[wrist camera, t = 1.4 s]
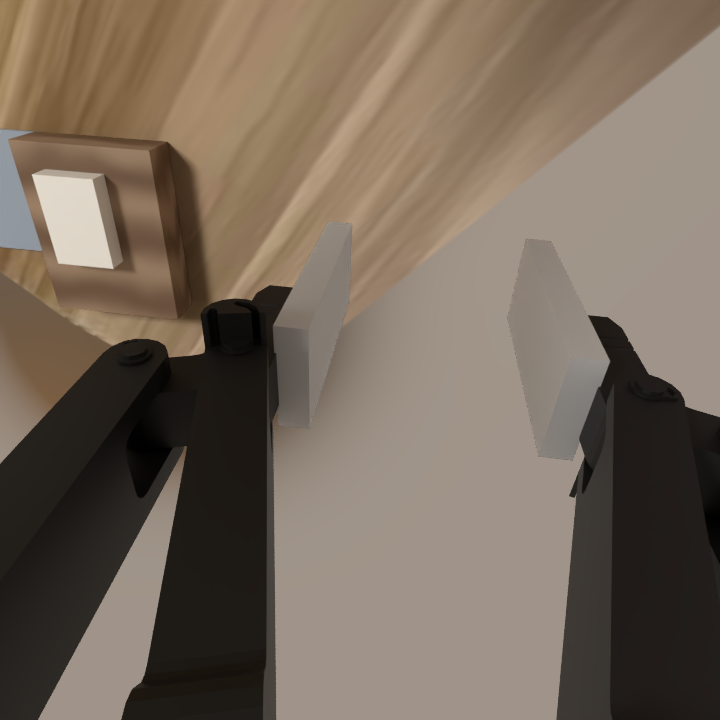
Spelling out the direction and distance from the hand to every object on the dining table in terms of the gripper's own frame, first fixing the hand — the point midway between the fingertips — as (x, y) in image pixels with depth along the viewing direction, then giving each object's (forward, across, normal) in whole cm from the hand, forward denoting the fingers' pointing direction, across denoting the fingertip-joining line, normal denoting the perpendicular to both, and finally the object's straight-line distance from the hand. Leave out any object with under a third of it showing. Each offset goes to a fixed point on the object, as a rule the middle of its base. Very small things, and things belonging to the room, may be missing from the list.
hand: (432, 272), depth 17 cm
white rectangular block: (+33, -34, -12) cm, 49 cm away
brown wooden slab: (+37, -33, -14) cm, 51 cm away
